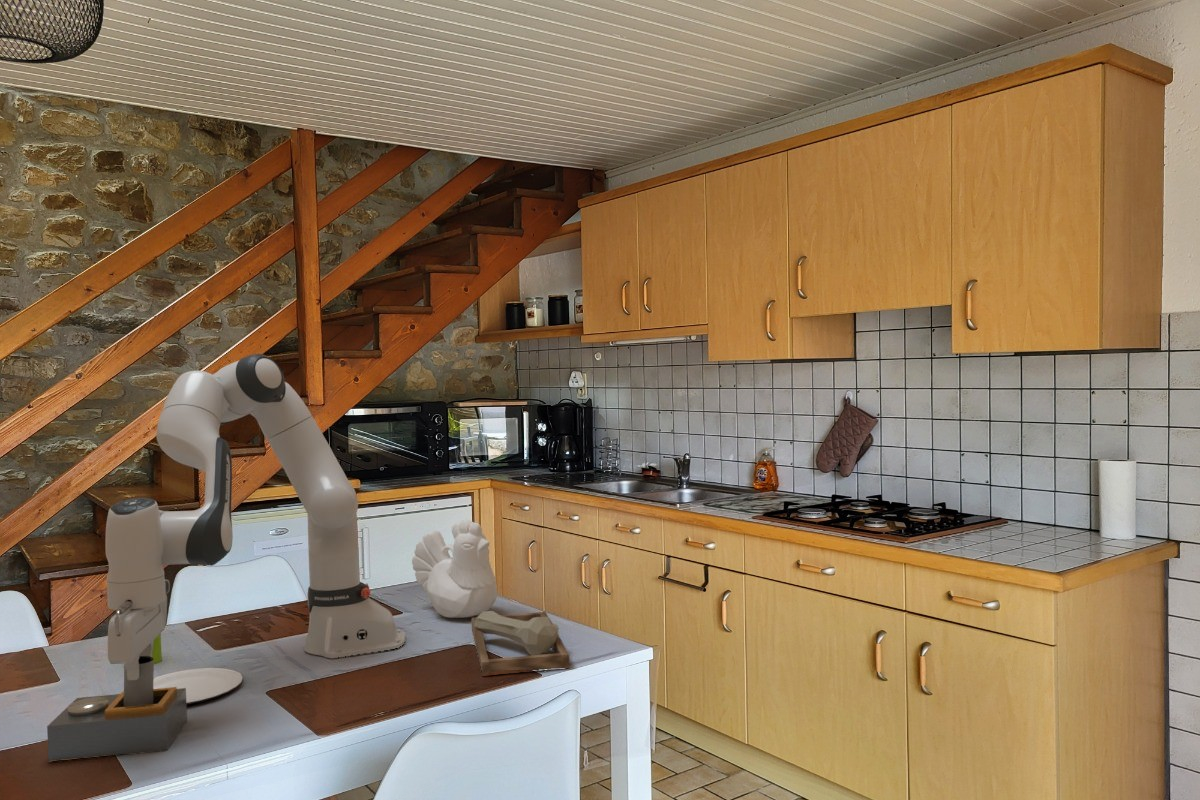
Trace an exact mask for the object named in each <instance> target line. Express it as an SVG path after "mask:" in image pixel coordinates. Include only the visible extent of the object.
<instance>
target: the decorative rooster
mask: <svg viewBox="0 0 1200 800" xmlns="http://www.w3.org/2000/svg"><path fill="white" fill-rule="evenodd" d="M451 533H452V535H453V539H454V542H453V544H452V543H448V544H446V542H445V540H444V537H443V535H442V534H441V532H440V531H438V530H431V531H429V532H428V533H426V534H424V536H422V539H421V540H420V541H418V542H417V544H416V546H415V549H414V555H413V557H412V559H411V565H412V569H413V571H414V576H415V579H416V580H415V581H416V583H417V584H419V586H422V589H423V590H424V592H425V593H427V595H428V599H429V601H430V602H431V605H432V607H433V608H434V610H435V611H436V612H437V613H438V614H439V615H441V616H443V617H445V618H450V619H451V618H452V619H454V618H456V619H457V618H460V619H461V618H470V617H471V618H472V617H477V616H479V615H480V614H481V613H482V612H483V611H489V610H490V609H491V608H492V607H493V606H494V604H495V603H496V601H497V598H498V587H497V580H496V576H495V574H494V571H493V569H492V566H491V563H490V549H489V547H490V541H489V540H487V538H486V536H485V534H484V533H483V528H482V526H481V524H479V523H478V522H473V521H472V520H469V519H464V520H461V521H460V522H459V521H458V522H455V523H454V524H453V525H452V526H451ZM449 551H450V552H451V553H452V554H451V555H452V557H451V555H450V553H449Z"/></svg>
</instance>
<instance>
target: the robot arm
mask: <svg viewBox="0 0 1200 800" xmlns="http://www.w3.org/2000/svg"><path fill="white" fill-rule="evenodd" d="M168 392H169V393H168V394H167V396H166V399H165V401H164V405H163V406H162V409H161V413H160V416H159V419H158V422H157V425H156V433H155V434H156V436H155V437H156V441H157V443H158V444H157V445H159V448H160V449H161V451H163V453H165V454H166V455H167V457H170V458H171V459H172V460H173V461H175V462H177V463H179V464H182V465H184V466H187V467H191V468H194V469H197V470H199V471H202V472H204V473H205V483H204V484H205V485H204V504H203V505H202V506H201V507H199V508H197V509H195V510H180V511H179V510H177V511H176V510H174V511H169V510H161V509H159V505H158V503H157V501H156V500H155V499H153V498H148V497H134V498H130V499H126V500H125V499H124V500H121V501H118V502H116V503H114V504H113V505H111V507H110V508H109V509H108V512H107V517H106V524H105V526H106V527H105V544H104V545H105V546H104V547H105V548H104V549H105V557H106V559H107V562H108V563H107V564H108V572H107V575H106V592H107V608H108V609H110V610H114V611H116V613H115V614H114V615H113V616H111V617H110V619H109V622H108V628H107V660H108V662H109V663H110V664H111V665H120V664H123V665H125V668H126V670H127V679H128V680H137V679H138V678H139V677H140V676H141V667H139V662H138V659H139V656H150V657H151V655H152V650H153V645H154V641H153V640H154V639H155V638H156V637H157V636H158V635H159V634H160V633H161V634H162V633H163V632H164V631H165V628H166V624H167V615H168V614H167V611H168V596H167V594H168V593H169V592H170V588H171V587H170V580H169V579H167V578H166V579H165V570H164V567H163V565H167V566H168V565H197V566H215V565H216V564H218V563H219V562H220V561H222V560H223V559H224V558H225V557H226V556H227V555H228V554H229V553H230V552H231V550H232V547H233V537H234V536H233V522H232V521H233V520H232V492H233V491H232V490H233V488H232V487H233V486H232V485H233V464H232V462H233V461H232V459H233V458H232V452H231V449H230V446H229V443H228V442H227V440H226V439H223V438H222V437H221V435H220V427H221V426H223V425H228V424H230V423H231V422H233V421H235V420H239V419H241V418H243V417H246V416H248V415H251V416H252V417H253V418H255V420H256V421H257V424H258V425H259V428H260V429H261V432H262V434H263V435H264V438H265V439H266V441H267V443H268V444H269V446H270V449H272V451H273V453H274V455H275V457H276V458H277V460H278V461H279V463H280V465H281V467H282V468H283V470H284V472H285V474H286V476H287V478H288V480H289V482H290V484H291V486H292V487H293V489H294V492H295V493H296V495H297V497H298V499H299V500H300V502H301V505H302V506H303V508H304V510H305V512H306V514H307V536H308V537H307V541H308V543H307V544H308V571H309V586H308V588H307V609H308V613H309V618H308V619H309V620H308V621H309V622H308V630H307V636H306V639H305V641H306V642H305V645H304V651H305V653H308V654H311V655H315V656H322V657H324V658H328V659H338V657H339V658H344V657H345V656H346V657H352V656H351V655H353V656H358V655H357V654H360V655H364V654H363V653H367V654H372V653H371V652H374V653H379V652H378V651H381V652H385V651H384V650H388V651H391V650H390V649H395V648H398V647H400V646H401V647H403V646H404V645H405V643H406V641H405V640H407V638H406V633H405V632H404V631H403V630H401V629H399V628H396V622H395V618H394V616H393V614H392V612H391V610H389V609H388V608H386V607H384V606H383V605H381V604H379V603H378V602H377V601H375V600H374V599H372V598H370V595H371V589H370V586H369V583H364V582H361V579H360V578H361V577H360V576H361V575H360V550H359V549H360V547H359V535H358V517H357V513H358V508H359V498H358V496H357V493H356V492H357V491H356V490H355V488H354V486H353V484H352V483H351V481H349V479H348V478H347V475H346V474H345V471H344V470H343V468H342V467H341V465H340V463H339V461H338V459H337V457H336V456H335V454H334V452H333V450H332V448H331V446H330V445H329V443H328V441H327V439H326V438H325V436H324V433H323V432H322V430H321V428H320V427H319V425H318V424H317V422H316V420H315V419H314V416H313V415H312V413H311V412H310V410H309V408H308V407H307V405H306V403H305V402H304V401H303V399H302V398H301V397H300V395H299V394H298V393H297V391H296V390H295V389H294V388H293V387H292V386H291V385H290V384H289V383H288V382H286V381H285V376H284V373H283V371H282V369H281V367H280V366H279V364H278V363H277V362H276V361H275V360H274V359H272V358H271V357H269V356H267V355H265V354H262V353H255V354H250V355H246V356H244V357H241V358H240V359H239V360H237V361H234V362H232V363H229V364H227V365H225V366H223V367H221V368H220V369H219V370H218V371H216V372H214V373H213V374H212V373H210V372H208V371H203V370H189V371H186V372H184V373H182V374H180V376H179V377H178V378H177V379H176V380H175V381H174V383H173V385H172V387H171V388H170V391H168ZM404 642H405V643H404ZM403 644H404V645H403ZM402 645H403V646H402ZM401 647H400V648H401ZM398 649H399V648H398ZM395 650H396V649H395ZM346 657H345V658H346Z"/></svg>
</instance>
